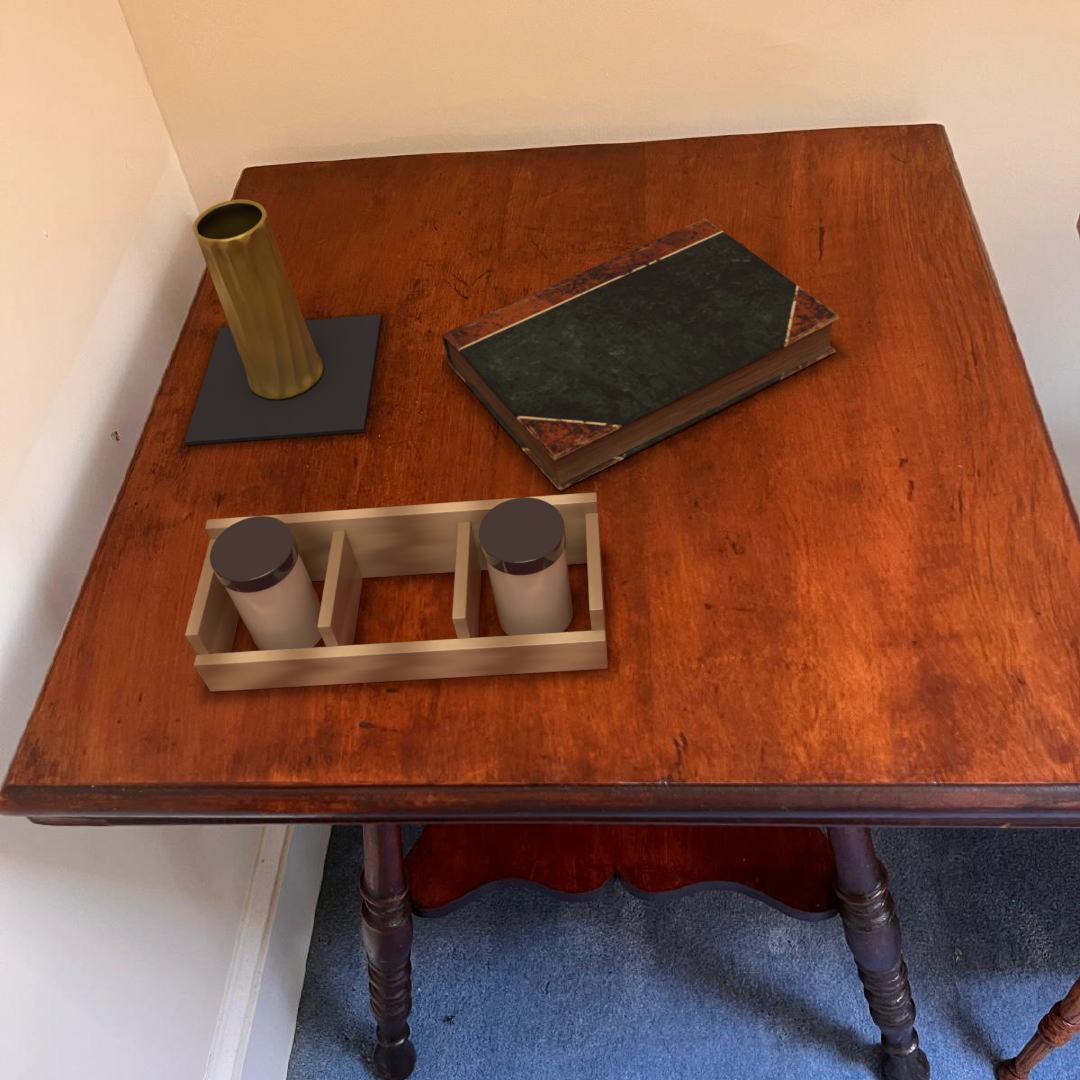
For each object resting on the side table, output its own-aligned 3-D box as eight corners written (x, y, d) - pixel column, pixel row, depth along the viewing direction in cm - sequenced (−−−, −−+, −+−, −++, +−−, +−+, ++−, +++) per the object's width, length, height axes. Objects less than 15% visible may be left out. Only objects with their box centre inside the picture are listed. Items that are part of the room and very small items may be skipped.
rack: (210, 692, 64) (175, 636, 60) (237, 577, 70) (207, 519, 66) (608, 668, 63) (602, 610, 58) (601, 553, 69) (596, 491, 64)
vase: (236, 397, 82) (170, 242, 71) (267, 347, 86) (209, 193, 75) (307, 404, 81) (250, 247, 70) (335, 353, 84) (285, 197, 74)
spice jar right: (495, 647, 64) (477, 565, 58) (497, 584, 68) (480, 500, 62) (575, 642, 64) (565, 559, 58) (573, 579, 67) (563, 494, 61)
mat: (186, 445, 79) (184, 442, 79) (221, 331, 89) (219, 327, 88) (364, 432, 78) (363, 428, 78) (382, 317, 88) (381, 313, 87)
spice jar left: (245, 662, 66) (201, 583, 59) (259, 599, 69) (218, 518, 63) (323, 658, 65) (286, 577, 59) (332, 595, 68) (299, 512, 62)
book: (557, 494, 72) (837, 354, 79) (553, 458, 70) (842, 316, 76) (446, 364, 83) (701, 250, 89) (438, 328, 80) (702, 213, 87)
